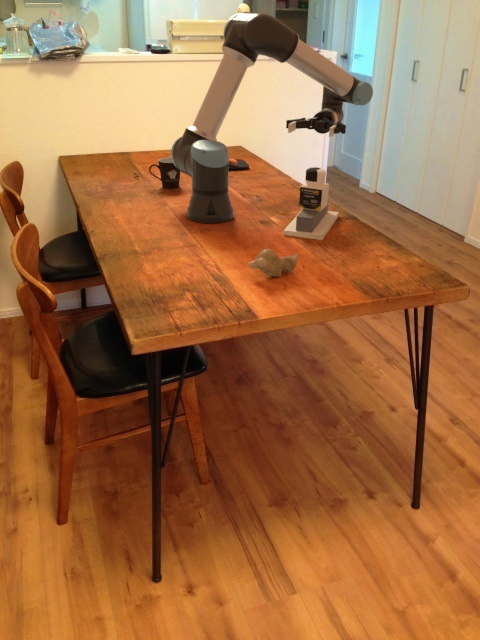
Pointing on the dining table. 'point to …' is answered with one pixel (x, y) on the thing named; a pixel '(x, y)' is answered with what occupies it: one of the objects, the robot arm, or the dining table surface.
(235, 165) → the sushi plate
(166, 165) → the coffee mug
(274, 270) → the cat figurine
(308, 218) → the stand
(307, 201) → the medicine bottle
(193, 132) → the robot arm
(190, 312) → the dining table surface
